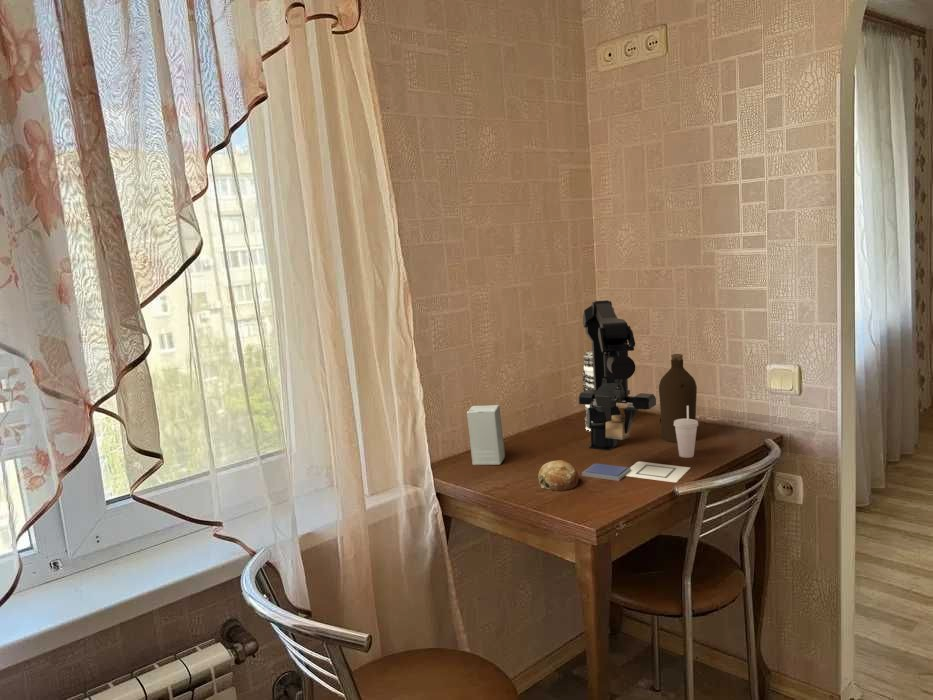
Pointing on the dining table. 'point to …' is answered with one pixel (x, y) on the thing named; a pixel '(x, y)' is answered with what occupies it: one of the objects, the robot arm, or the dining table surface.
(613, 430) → the stamp
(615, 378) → the robot arm
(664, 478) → the sheet
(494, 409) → the skincare box
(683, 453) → the smoothie
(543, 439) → the dining table surface
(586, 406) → the decorative candle
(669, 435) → the olive oil
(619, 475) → the ink pad
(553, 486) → the bread roll
